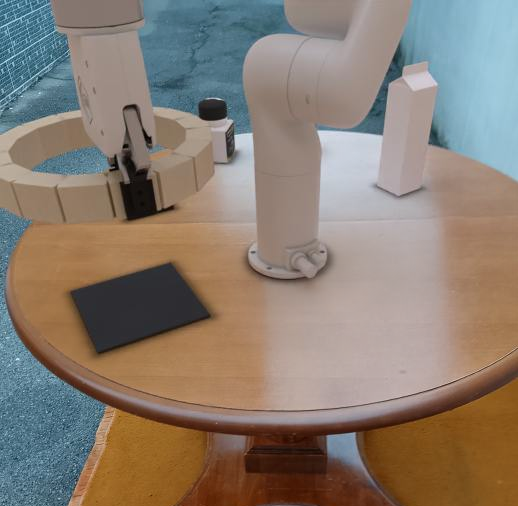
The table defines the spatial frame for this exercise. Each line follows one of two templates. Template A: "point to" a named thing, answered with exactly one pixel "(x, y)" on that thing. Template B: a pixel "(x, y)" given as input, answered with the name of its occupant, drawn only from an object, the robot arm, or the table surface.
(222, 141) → the medicine bottle
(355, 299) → the table surface
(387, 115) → the milk
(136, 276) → the mat
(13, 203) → the hoop
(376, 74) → the robot arm
